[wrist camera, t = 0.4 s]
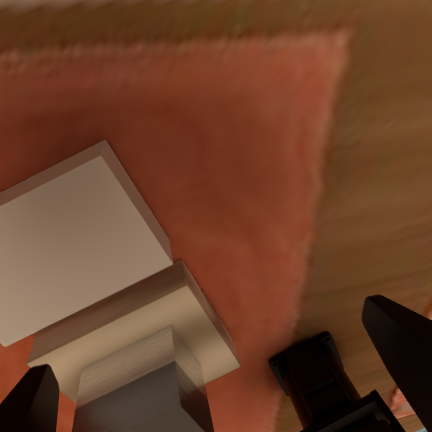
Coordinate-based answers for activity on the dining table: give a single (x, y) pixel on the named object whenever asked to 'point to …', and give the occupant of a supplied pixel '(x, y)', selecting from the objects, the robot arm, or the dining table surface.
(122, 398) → the housing
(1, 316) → the stand
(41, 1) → the dining table surface
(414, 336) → the robot arm
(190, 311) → the stand
